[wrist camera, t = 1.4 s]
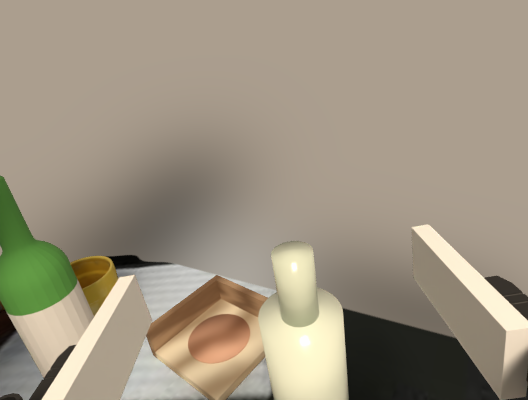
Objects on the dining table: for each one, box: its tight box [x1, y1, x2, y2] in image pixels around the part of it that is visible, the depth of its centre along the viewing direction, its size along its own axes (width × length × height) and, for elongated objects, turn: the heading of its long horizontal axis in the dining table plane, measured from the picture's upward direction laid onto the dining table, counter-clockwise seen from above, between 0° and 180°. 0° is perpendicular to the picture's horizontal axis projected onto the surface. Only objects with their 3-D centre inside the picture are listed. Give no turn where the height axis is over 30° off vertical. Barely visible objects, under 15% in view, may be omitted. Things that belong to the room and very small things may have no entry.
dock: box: [146, 275, 268, 400], centre depth 50 cm, size 14×14×5 cm
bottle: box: [258, 241, 349, 400], centre depth 32 cm, size 7×7×24 cm
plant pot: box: [70, 256, 118, 317], centre depth 58 cm, size 10×10×10 cm
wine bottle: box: [0, 176, 94, 378], centre depth 42 cm, size 8×8×30 cm
